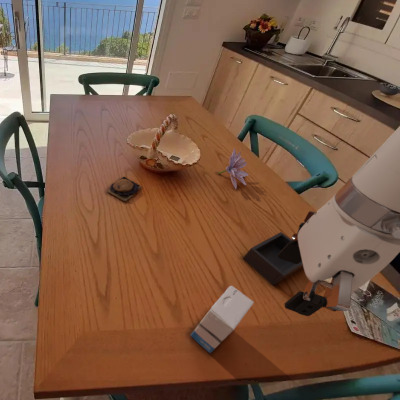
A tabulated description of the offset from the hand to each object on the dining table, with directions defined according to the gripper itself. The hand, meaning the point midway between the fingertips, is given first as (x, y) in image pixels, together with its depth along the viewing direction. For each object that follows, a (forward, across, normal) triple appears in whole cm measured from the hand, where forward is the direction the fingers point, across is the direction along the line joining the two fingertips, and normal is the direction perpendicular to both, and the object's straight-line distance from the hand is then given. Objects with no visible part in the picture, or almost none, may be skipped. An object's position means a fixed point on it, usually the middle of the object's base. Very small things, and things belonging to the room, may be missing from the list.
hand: (291, 283), depth 42 cm
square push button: (+22, +36, +35) cm, 55 cm away
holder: (+22, +26, -10) cm, 36 cm away
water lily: (+22, +60, +1) cm, 64 cm away
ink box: (+22, -1, +4) cm, 23 cm away
